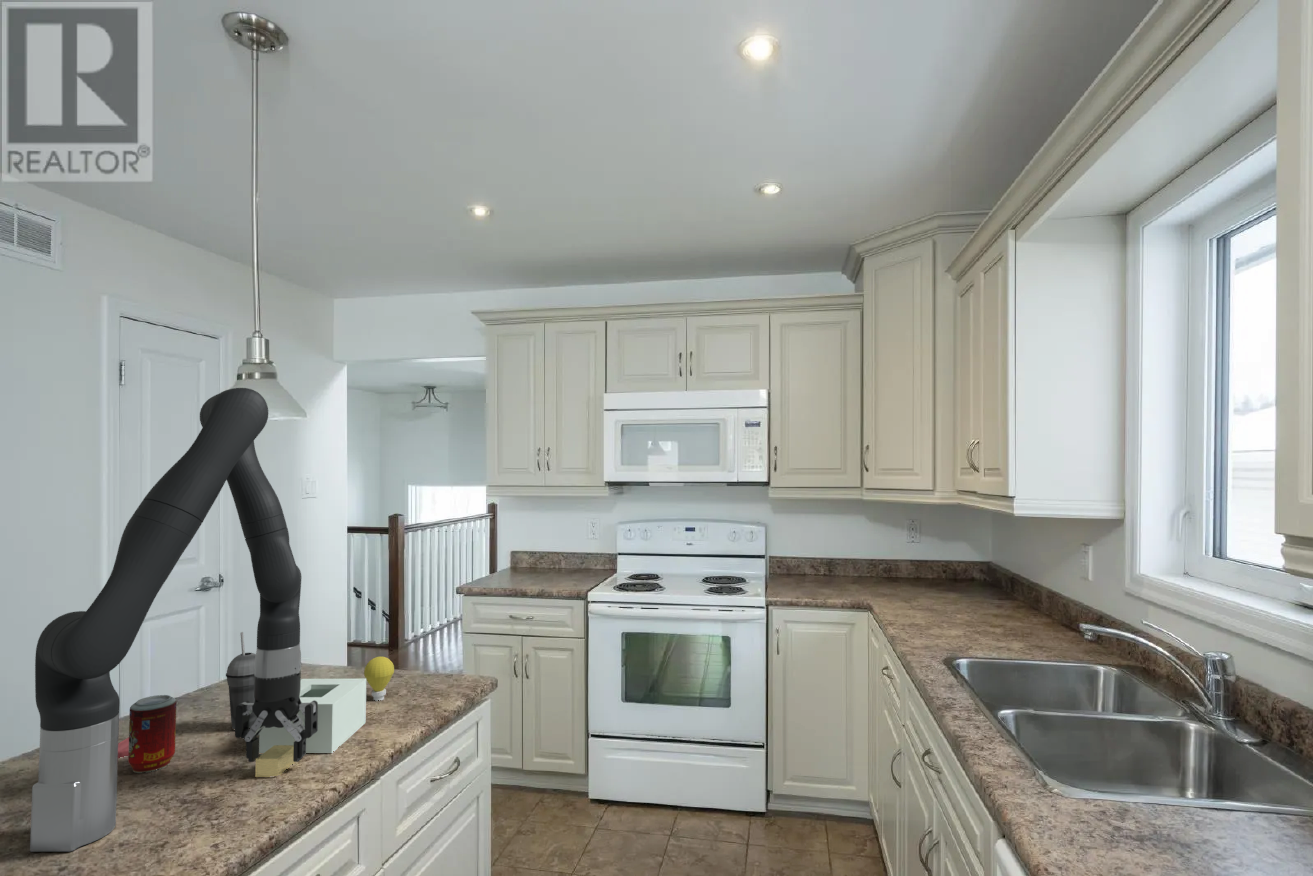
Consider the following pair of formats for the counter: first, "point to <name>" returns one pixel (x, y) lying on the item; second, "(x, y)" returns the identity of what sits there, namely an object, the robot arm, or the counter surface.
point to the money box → (325, 715)
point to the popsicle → (123, 748)
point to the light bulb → (378, 675)
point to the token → (274, 761)
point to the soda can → (152, 733)
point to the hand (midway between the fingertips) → (276, 760)
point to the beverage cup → (241, 682)
